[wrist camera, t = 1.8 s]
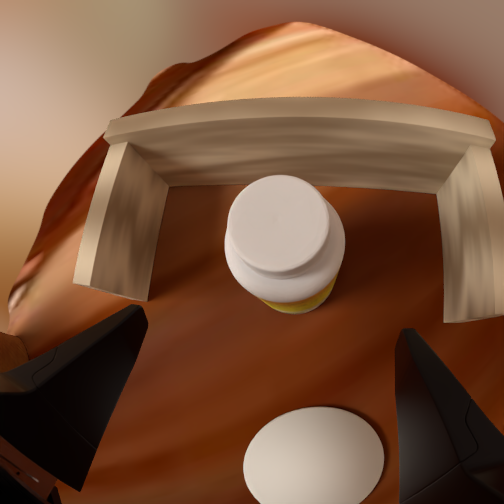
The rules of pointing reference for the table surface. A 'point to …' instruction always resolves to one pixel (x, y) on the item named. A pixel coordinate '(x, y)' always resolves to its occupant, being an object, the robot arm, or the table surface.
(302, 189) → the supplement bottle
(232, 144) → the wooden u-shaped barrier
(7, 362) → the disposable coffee cup
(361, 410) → the table surface
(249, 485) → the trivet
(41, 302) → the table surface
